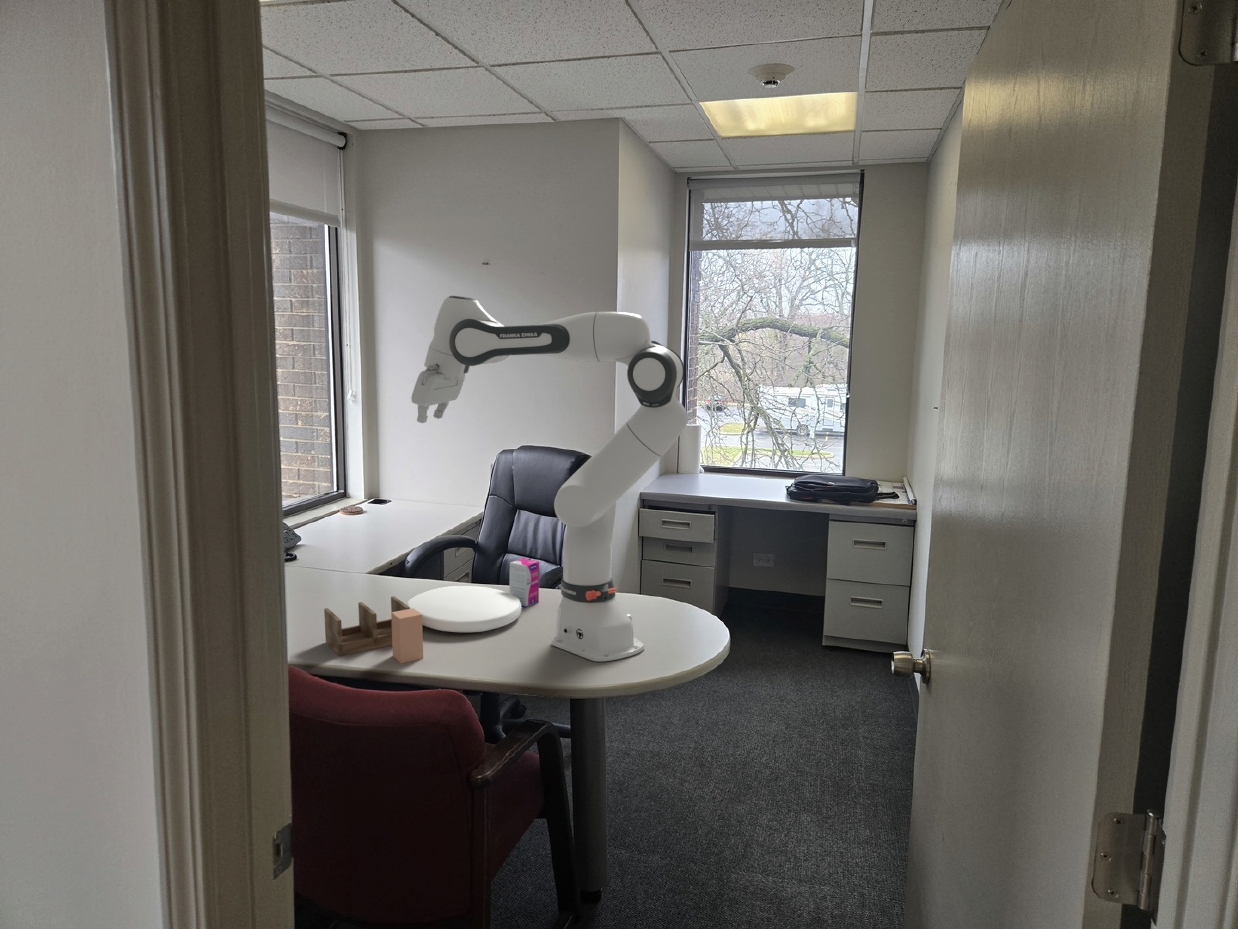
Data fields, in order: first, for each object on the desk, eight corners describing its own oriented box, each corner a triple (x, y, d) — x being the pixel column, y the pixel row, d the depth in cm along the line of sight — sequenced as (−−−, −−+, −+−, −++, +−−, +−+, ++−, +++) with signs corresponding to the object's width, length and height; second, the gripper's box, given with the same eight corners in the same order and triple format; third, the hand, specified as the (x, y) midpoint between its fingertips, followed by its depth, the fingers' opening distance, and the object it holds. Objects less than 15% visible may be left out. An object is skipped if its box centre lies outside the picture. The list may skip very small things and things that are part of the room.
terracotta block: (423, 658, 178) (422, 614, 177) (401, 663, 176) (399, 618, 174) (414, 651, 182) (413, 608, 181) (392, 656, 180) (391, 612, 178)
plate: (538, 591, 212) (493, 625, 187) (536, 614, 213) (490, 652, 188) (442, 570, 219) (386, 600, 194) (440, 593, 221) (384, 626, 195)
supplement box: (526, 608, 212) (526, 565, 210) (508, 604, 215) (508, 562, 213) (539, 602, 217) (539, 560, 215) (522, 598, 220) (522, 557, 218)
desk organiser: (410, 640, 189) (409, 607, 187) (339, 656, 179) (337, 621, 178) (395, 628, 197) (394, 596, 195) (325, 642, 187) (324, 608, 186)
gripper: (439, 370, 178) (423, 429, 181) (472, 366, 198) (457, 419, 201) (413, 361, 179) (397, 420, 182) (449, 357, 199) (434, 411, 202)
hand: (429, 419), depth 192 cm, fingers open, 8 cm apart
